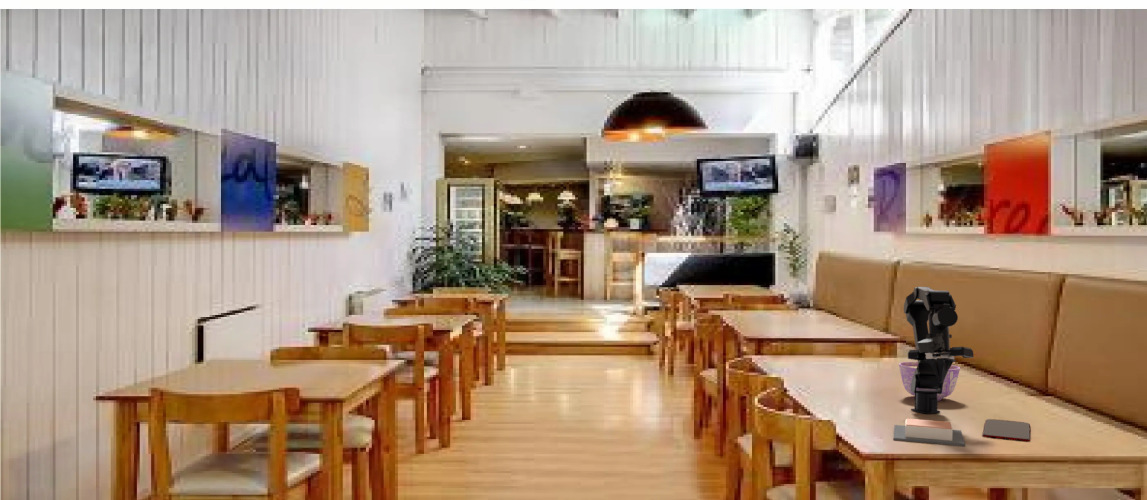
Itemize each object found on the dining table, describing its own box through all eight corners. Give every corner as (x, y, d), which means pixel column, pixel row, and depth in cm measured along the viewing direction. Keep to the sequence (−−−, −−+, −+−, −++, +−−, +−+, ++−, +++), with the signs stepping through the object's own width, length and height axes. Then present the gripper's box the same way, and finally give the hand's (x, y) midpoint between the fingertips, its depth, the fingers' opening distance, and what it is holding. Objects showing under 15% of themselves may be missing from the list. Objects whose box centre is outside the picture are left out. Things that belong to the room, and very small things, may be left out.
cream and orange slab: (905, 418, 259) (905, 424, 249) (950, 421, 255) (952, 428, 245) (905, 429, 259) (905, 436, 249) (950, 433, 255) (952, 440, 245)
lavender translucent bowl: (969, 404, 305) (970, 370, 304) (909, 403, 305) (910, 369, 305) (945, 394, 325) (946, 362, 324) (889, 393, 325) (890, 361, 325)
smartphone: (981, 434, 254) (985, 418, 276) (981, 440, 254) (985, 423, 276) (1030, 439, 248) (1030, 422, 270) (1030, 445, 248) (1030, 427, 270)
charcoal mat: (894, 426, 265) (894, 424, 265) (961, 432, 259) (961, 430, 259) (893, 440, 248) (893, 437, 248) (964, 446, 241) (964, 444, 241)
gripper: (896, 330, 279) (897, 381, 276) (952, 325, 264) (954, 379, 261) (917, 334, 285) (919, 384, 282) (973, 329, 270) (975, 382, 267)
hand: (940, 382), depth 273 cm, fingers closed
